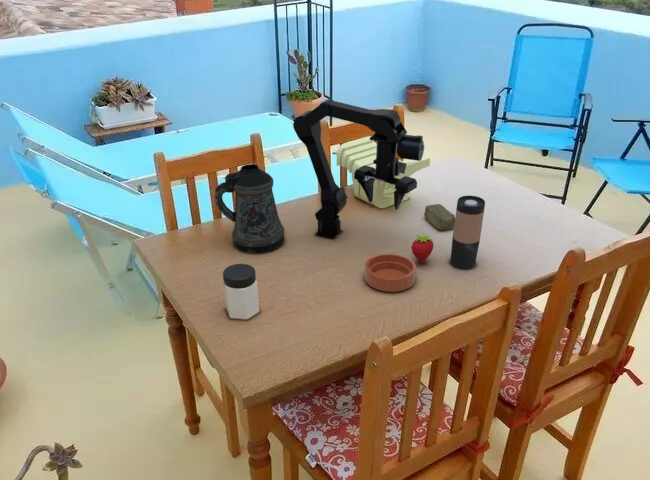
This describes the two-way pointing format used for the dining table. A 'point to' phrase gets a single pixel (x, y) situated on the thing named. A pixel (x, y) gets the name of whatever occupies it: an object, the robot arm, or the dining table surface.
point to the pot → (390, 272)
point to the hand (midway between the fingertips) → (383, 205)
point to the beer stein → (252, 210)
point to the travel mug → (467, 231)
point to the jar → (241, 291)
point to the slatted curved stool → (364, 154)
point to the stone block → (439, 217)
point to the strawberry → (422, 248)
